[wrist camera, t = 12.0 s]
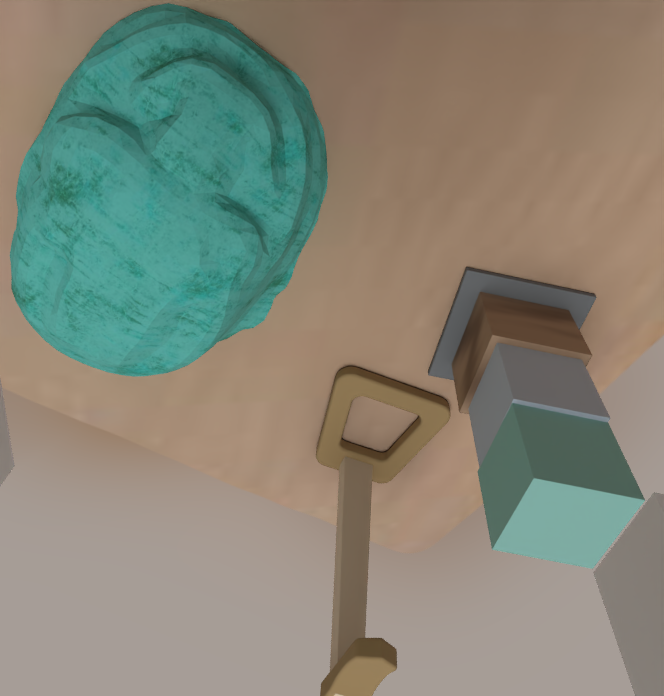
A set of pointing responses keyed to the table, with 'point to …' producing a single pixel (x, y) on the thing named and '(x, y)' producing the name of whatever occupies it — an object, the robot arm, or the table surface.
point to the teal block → (556, 487)
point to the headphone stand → (364, 519)
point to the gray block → (530, 390)
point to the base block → (511, 338)
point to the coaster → (506, 287)
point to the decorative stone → (165, 194)
